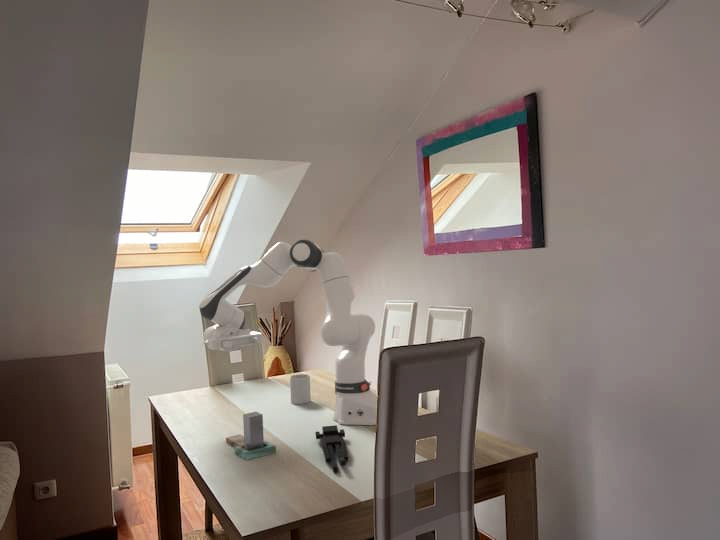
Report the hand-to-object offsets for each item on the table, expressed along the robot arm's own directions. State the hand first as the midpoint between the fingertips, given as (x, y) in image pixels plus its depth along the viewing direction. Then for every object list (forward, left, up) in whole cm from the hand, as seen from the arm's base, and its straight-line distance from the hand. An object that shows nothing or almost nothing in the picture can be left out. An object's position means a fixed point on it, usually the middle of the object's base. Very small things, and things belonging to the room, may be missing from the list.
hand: (244, 342), depth 194 cm
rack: (-10, +15, -32) cm, 36 cm away
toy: (-40, +12, -32) cm, 53 cm away
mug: (+3, -43, -32) cm, 53 cm away
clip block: (-14, +17, -32) cm, 39 cm away
